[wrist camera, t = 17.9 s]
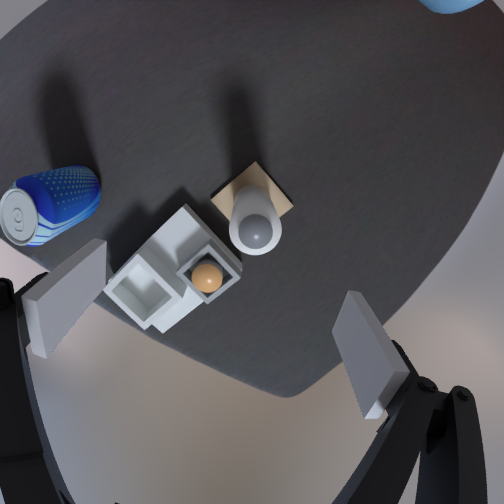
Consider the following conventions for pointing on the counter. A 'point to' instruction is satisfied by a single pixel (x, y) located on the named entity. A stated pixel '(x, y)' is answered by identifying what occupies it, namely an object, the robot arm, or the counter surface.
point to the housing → (170, 272)
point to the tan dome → (207, 274)
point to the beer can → (48, 204)
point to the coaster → (251, 177)
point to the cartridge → (254, 221)
